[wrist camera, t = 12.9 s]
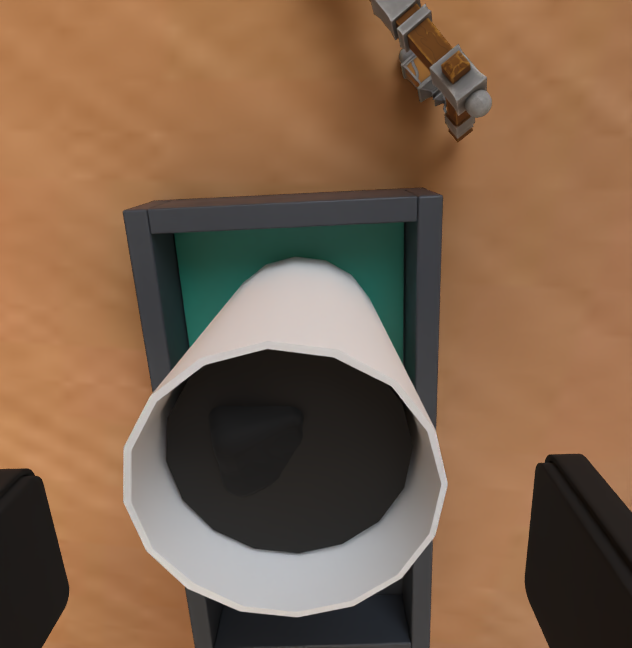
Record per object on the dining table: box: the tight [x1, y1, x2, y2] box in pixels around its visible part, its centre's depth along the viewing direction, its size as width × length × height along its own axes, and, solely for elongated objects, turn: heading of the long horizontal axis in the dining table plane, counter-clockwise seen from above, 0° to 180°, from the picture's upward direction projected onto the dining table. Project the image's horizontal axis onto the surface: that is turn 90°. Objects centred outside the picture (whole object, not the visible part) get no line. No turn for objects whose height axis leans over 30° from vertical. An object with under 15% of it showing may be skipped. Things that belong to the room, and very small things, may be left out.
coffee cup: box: [123, 257, 448, 617], centre depth 15 cm, size 7×7×10 cm
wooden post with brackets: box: [370, 0, 492, 142], centre depth 16 cm, size 2×8×4 cm, turn 39°
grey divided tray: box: [123, 188, 443, 648], centre depth 21 cm, size 10×19×3 cm, turn 3°
